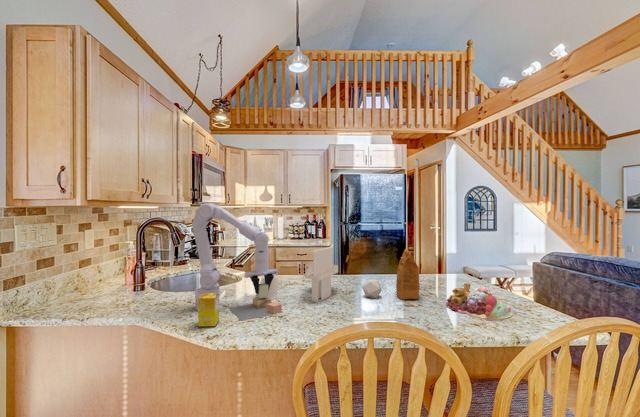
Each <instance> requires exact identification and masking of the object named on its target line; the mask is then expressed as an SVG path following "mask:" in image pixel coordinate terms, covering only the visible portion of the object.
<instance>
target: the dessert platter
mask: <svg viewBox="0 0 640 417" xmlns="http://www.w3.org/2000/svg"><path fill="white" fill-rule="evenodd" d="M470 290H471V283H470V282H464V284H463V287H460V288H459V287H455V288H453V289H452V293H453V294H450V296H449V298H447V299H446V301H445V305H446V308H447V307H451V308H450V310H452V311H455V312H459V313H460V314H466V315H468V316H469V317H473V318H476V319H479V320H484V321H494V322H495V321H502V320H508V319H510V318H511V317H513V311H512V309H511V308H512V307H511V306H509V307H508V308H507V306H506V305H505V304H504V303H503V302H502V301H498V300H497V298H496V297H495V296H494V294H492V292H491V290H490V288H487V287H485V286H483V287H482V286H481V287H475V288H473V290H471V291H470Z"/></svg>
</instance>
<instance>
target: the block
mask: <svg viewBox="0 0 640 417" xmlns="http://www.w3.org/2000/svg"><path fill="white" fill-rule="evenodd" d="M281 311H282V303H280V302H277V301H274V302H271V303H270V304H267V312H270V313H272V315H276V314H275V313H277V314H279V313H278V312H281Z"/></svg>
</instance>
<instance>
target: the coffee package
mask: <svg viewBox="0 0 640 417" xmlns="http://www.w3.org/2000/svg"><path fill="white" fill-rule="evenodd" d="M413 256H414V252H411V251H410V250H408V249H407V248H404V250H403V253H402V255H401V258H400V260H399V262H398V263H399V264H398V268H397V272H396V284H395V285H396V287H395V288H396V295H397V297H398V298H399V299H400V300H403V301H404V300H416V299H419V297H420V296H419V295H420V294H419V293H420V289H421V288H420V287H421V285H420V268H419V266H418V264H417V262H416V261H415V260H414V257H413Z"/></svg>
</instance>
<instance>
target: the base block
mask: <svg viewBox="0 0 640 417" xmlns="http://www.w3.org/2000/svg"><path fill="white" fill-rule="evenodd" d="M270 303H272V299H270V298H268V297H264V298H258V297H257V296H256V297H252V304H253V306H255V307H256V308H257V309H261V308H266V307H267V304H270Z"/></svg>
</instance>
